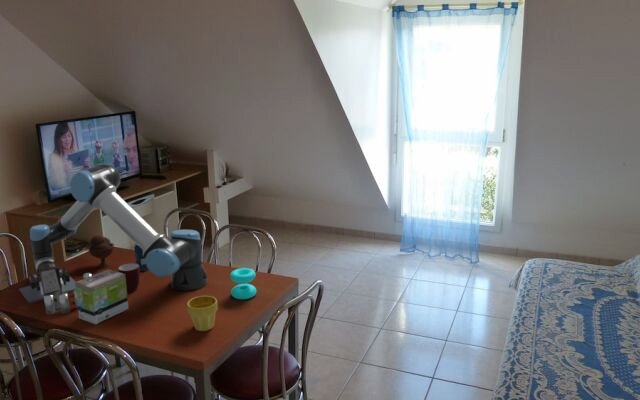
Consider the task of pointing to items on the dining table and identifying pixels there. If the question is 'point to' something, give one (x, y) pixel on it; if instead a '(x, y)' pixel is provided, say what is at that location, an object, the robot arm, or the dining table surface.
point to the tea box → (101, 296)
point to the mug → (131, 275)
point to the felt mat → (36, 295)
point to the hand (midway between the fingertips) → (52, 289)
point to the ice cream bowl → (101, 249)
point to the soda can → (140, 258)
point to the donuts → (243, 289)
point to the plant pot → (203, 312)
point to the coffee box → (51, 281)
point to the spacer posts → (61, 300)
